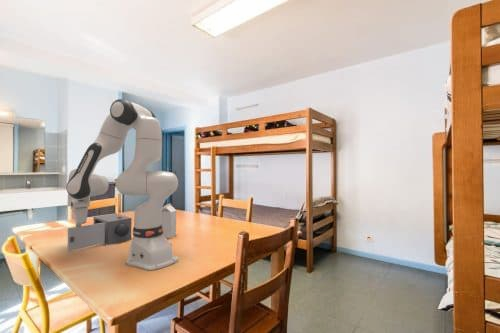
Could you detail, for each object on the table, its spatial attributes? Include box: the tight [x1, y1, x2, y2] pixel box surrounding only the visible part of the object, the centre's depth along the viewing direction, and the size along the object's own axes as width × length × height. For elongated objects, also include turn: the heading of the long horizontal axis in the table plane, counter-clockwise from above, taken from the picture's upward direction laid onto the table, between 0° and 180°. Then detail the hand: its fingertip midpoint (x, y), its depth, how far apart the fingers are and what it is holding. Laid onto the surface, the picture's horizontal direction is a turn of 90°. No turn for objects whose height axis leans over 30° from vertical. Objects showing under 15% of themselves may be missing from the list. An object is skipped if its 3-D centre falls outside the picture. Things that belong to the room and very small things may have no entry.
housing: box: [93, 213, 133, 246], centre depth 132 cm, size 22×12×13 cm, turn 52°
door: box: [67, 222, 107, 252], centre depth 116 cm, size 16×2×11 cm, turn 142°
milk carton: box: [161, 203, 177, 239], centre depth 137 cm, size 7×7×19 cm
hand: (78, 229), depth 114 cm, fingers closed
